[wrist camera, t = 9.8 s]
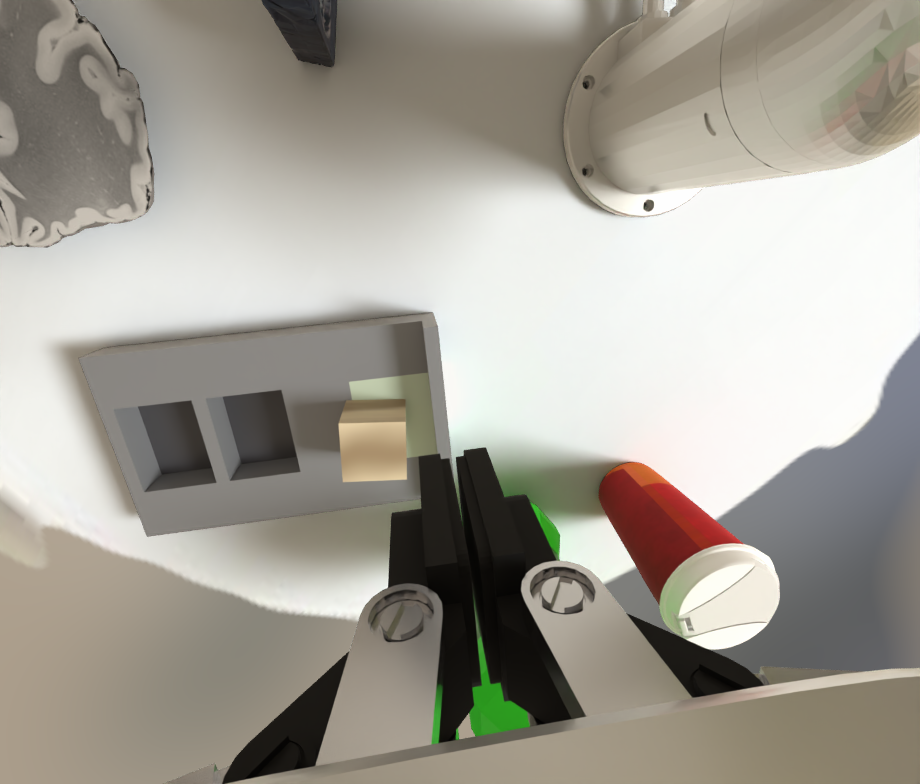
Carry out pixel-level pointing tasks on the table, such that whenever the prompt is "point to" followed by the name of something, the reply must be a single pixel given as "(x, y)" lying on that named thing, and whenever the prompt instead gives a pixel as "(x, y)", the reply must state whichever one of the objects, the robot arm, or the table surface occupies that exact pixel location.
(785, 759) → the robot arm
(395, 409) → the birch block
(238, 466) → the box
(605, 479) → the coffee cup
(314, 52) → the vhs cassette tape
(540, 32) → the table surface
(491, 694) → the plastic bottle
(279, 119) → the table surface
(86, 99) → the brain slice
